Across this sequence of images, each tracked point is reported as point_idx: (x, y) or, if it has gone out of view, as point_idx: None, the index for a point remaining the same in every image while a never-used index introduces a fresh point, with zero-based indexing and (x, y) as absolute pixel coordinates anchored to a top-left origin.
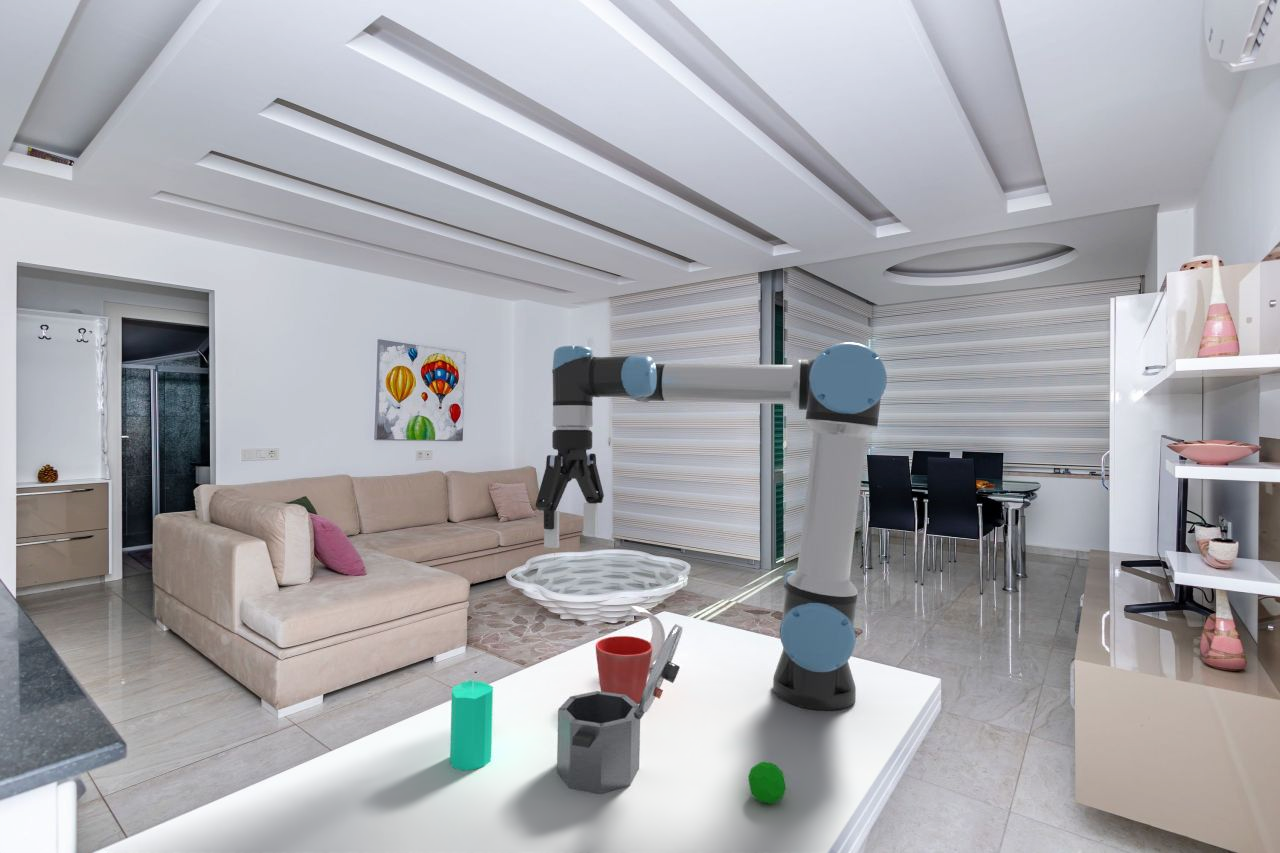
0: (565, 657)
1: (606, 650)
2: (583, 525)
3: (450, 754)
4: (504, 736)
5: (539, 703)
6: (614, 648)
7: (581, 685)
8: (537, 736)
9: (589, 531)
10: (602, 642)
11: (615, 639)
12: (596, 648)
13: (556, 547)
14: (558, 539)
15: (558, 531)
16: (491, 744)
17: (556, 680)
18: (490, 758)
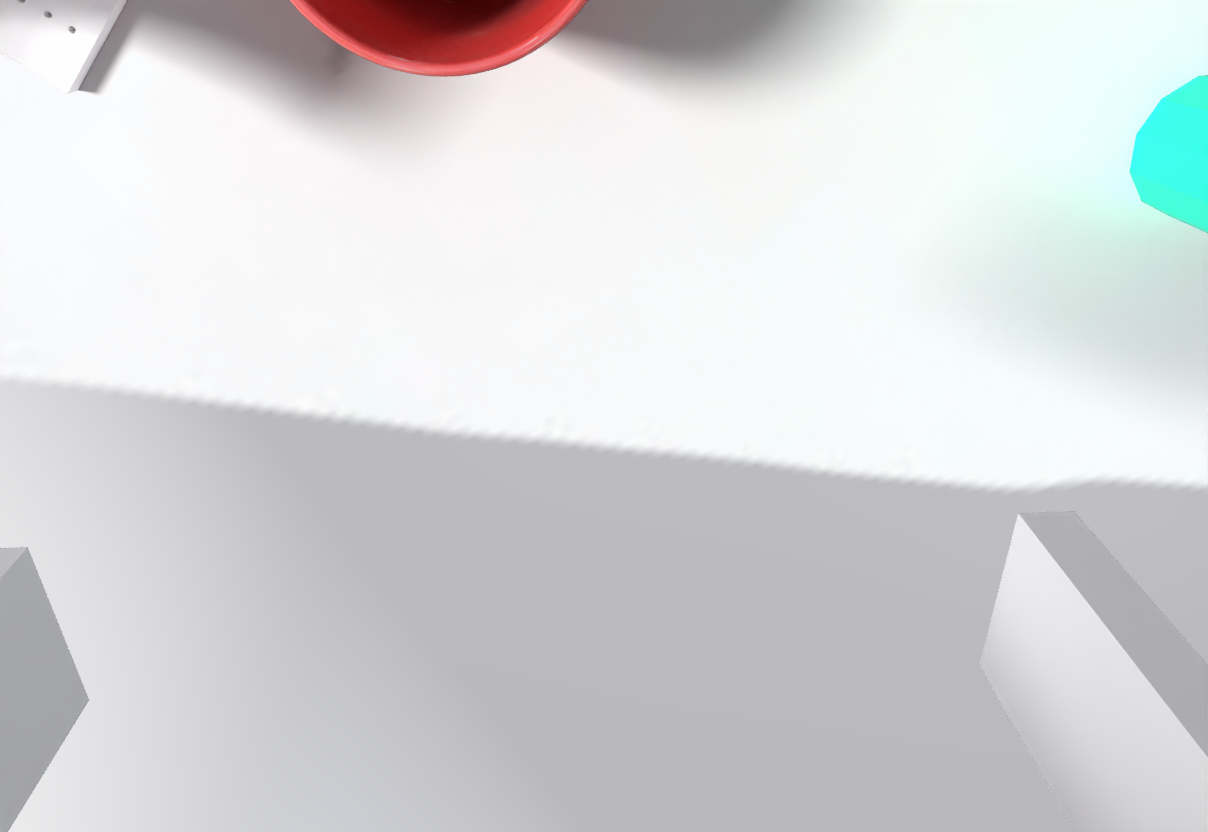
0: (248, 394)
1: (413, 38)
2: (9, 828)
3: None
4: (1015, 151)
5: (714, 208)
6: (357, 10)
7: (466, 154)
8: (976, 34)
9: (19, 679)
10: (436, 58)
11: (331, 15)
12: (573, 17)
13: (1076, 521)
14: (1096, 583)
15: (1170, 671)
16: (1193, 102)
17: (484, 282)
18: (1203, 77)
